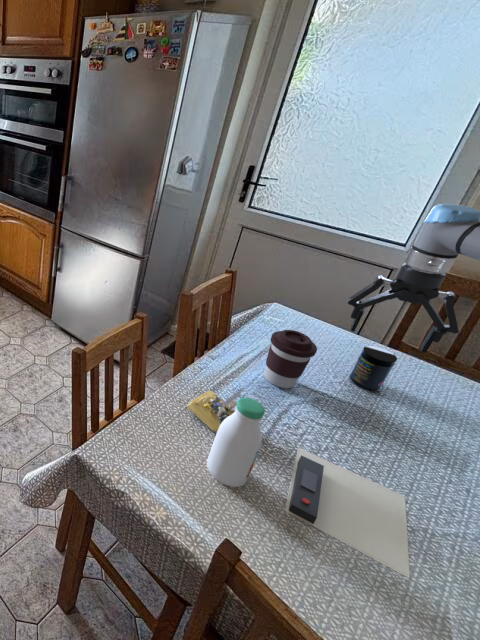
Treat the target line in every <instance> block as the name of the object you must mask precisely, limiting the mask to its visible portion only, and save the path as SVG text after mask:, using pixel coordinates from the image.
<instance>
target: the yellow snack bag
mask: <svg viewBox="0 0 480 640" xmlns="http://www.w3.org/2000/svg"><path fill="white" fill-rule="evenodd" d="M244 388H245V386H243V387H242V388H240V389H239V390H238V391H236V392H235V393H233V394H232V395H231V396H229V397H228V398H227V399H225V400H223V399H222V398H220V397H219V396H218V395H217V394H216V393H215V392H213V391H211V390H207V391H205V392H204V393H202V394H200V395H198V396H196V397H195V398H194V399H192V400H191V401H190V402H188V404H186V408H187V409H188V410H189V411H190V412H191V413H193V415H195V416H196V417H197V418H198V419H199V420H200V422H202V423H203V424H205V426H206V427H208V428H209V429H210V430H211V431H213V432H215V433H217V431H218V429H219V427H220V425H221V423H222V422H223V421H224V419H226V418H227V417H228V416H230V415H232V414H233V413H234V412H235V411H236V409H235V408H236V405H237V402H235V401H234V400H236V399H237V398H238V397H239V396H240V395H241V393H242V391H243V390H244Z"/></svg>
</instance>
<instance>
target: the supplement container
mask: <svg viewBox="0 0 480 640" xmlns="http://www.w3.org/2000/svg"><path fill="white" fill-rule="evenodd" d="M397 361H398V357H397V356H396V355H395V354H394V353H393V352H391V351H389V350H387V349H385V348H383V347H379V346H375V345H374V346H373V345H366V346H363V348H362V350H361V351H360V355H359V356H358V358H357V360H356V363H355V364H354V366H353V368H352V370H351V373H350V374H349V380H350V381H351V383H353V384H355V385H356V386H357V387H359V388H361V389H363V390H366V391H370V392H376V391H380V390H381V389H382V388H383V386H384V384H385V382H386V380H387V378H388V377H389V375H390V373H391V371H392V370H393V368H394V366H395V365H396V363H397Z"/></svg>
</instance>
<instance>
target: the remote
mask: <svg viewBox="0 0 480 640" xmlns="http://www.w3.org/2000/svg"><path fill="white" fill-rule="evenodd" d="M323 469H324V466H323V465H321V464H319V463H317V462H315V461H312V460H310V459H308V458H306V457H304V456H302V455H301V457H300V459H299V461H298V465H297V470H296V476H295V481H294V486H293V491H292V496H291V501H290V506H289V511H290V512H292V513H294V514H296V515H298V516H300V517H301V518H303V519H305V520H307V521H309V522H311V523H312V524H314V522H315V520H316V518H317V514H318V506H319V499H320V491H321V484H322V476H323Z"/></svg>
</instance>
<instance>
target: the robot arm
mask: <svg viewBox="0 0 480 640" xmlns="http://www.w3.org/2000/svg"><path fill="white" fill-rule="evenodd" d="M422 223H423V224H422V226H421V227H420V230H419V232H418V234H417V237H416V239H415V241H414V243H413V244H412V246H411V247H410V249H409V251H408V252H407V255H406V257H405V259H404V263H403V264H401V266H400V269H399V271H398V272H397V275H396V277H395V278H393V279H388V278H386V277H385V276H383V275H381V274H379V275H377V276H376V278H375V279H374V281H373V282H371V283H370V284H368V285H367V286H365V287H363V288H361V290H358V291H357V292H355V293H354V294H353V295H351V296H349V297H348V299H347V304H348V305H349V306H352V307H353V308H352V311H351V313H350V319H353V321H352V323H351V325H350V332H355V331H356V329H357V327H358V325H359V323H360V321H361V318H362V317H363V315H364V313H365V309H366V308H368V307H372V306H374V305H377V304H380V303H383V302H385V301H388V300H389V301H390V300H391V301H392V300H393V299H398V301H401V302H408V303H410V304H412V305H418V304H421V305H422V307H423V309H424V310H425V311H426V313H427V314H428V316H429V317H430V319H431V321H432V322H433V324H434V325H432V326H431V328H430V329H429V332H428V333H427V335H426V336H425V338H424V340H423V342H422V343H421V345H420V352H421V353H423V354H426V353H427V351H428V350H429V347H430V346H431V345H432V344H433V343H440V341H441V340H442V338H443V337H444V335H446V334H447V333H452V334H458V333H459V327H458V322H457V317H456V313H455V307H454V304H455V302H456V295H455V293H454V292H453V291H447V292H446V291H445V292H444V291H439V289H440V287H441V286H442V284H443V282H444V280H445V278H447V274H446V273H449V272H450V270H451V268H452V267H453V264H454V263H455V261H456V259H457V258H458V256H459V255H462V256H465V257H468V258H470V259H474V260H477V261H479V262H480V210H479V209H477V208H476V209H475V208H473V207H471V206H466V205H462V204H453V203H441V204H440V203H439V204H436V205H435V206H433V207H432V208H431V210H430V211H429V213H428V215H427V216H426V218H425V219H424V220H423V222H422ZM385 286H389V287H390V289H387V290H385V291H384V292H381V293H378V294H375V295H373V296H370V297H367V296H369V295H370V294H372V293H374V292H376V291H377V290H378V289H380V288H381V287H385ZM366 297H367V298H366ZM436 298H439V299H440V300H441V302H444V307H445V311H446V316H447V320H448V324H445V323H444V321H443V320H442V318H441V317H440V315H439V313H438V311H437V310H436V308H435V307H434V305H433V303H432V302H431V300H433V299H436Z"/></svg>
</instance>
